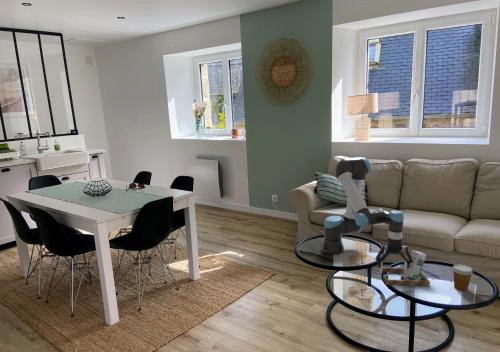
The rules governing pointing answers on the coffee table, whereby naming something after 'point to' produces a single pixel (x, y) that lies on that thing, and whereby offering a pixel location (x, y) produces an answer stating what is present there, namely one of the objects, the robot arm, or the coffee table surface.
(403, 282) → the wooden tray
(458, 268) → the disposable coffee cup
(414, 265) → the syrup box
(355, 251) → the coffee table surface
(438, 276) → the coffee table surface
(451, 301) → the coffee table surface
